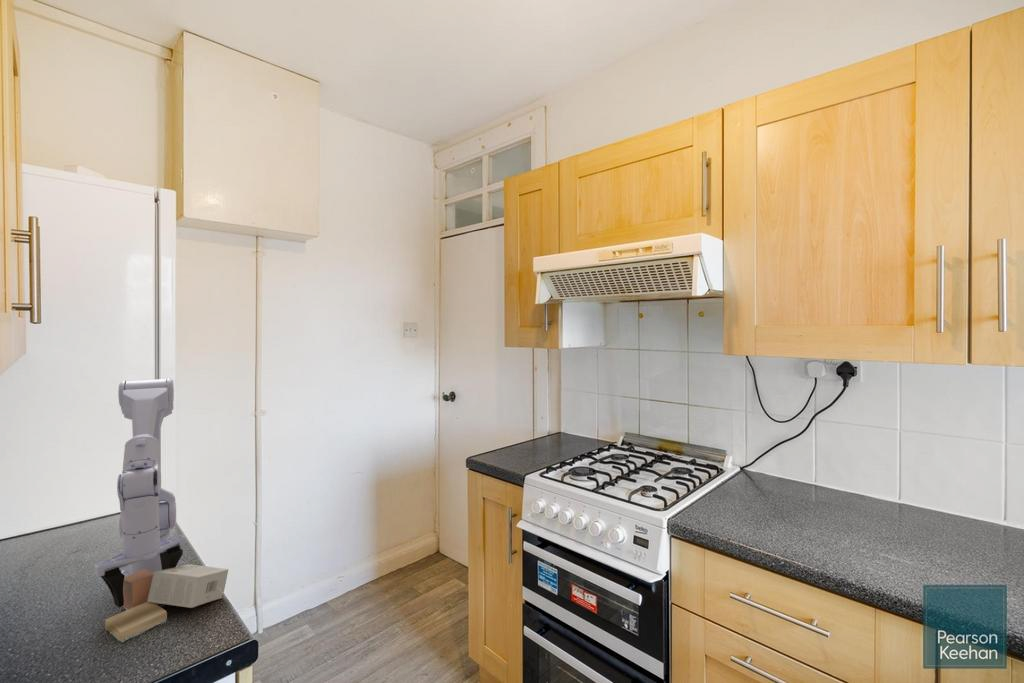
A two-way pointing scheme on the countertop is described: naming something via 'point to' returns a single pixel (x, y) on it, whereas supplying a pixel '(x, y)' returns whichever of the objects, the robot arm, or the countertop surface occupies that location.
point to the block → (137, 588)
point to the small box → (187, 585)
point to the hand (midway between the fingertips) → (143, 594)
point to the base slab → (135, 620)
